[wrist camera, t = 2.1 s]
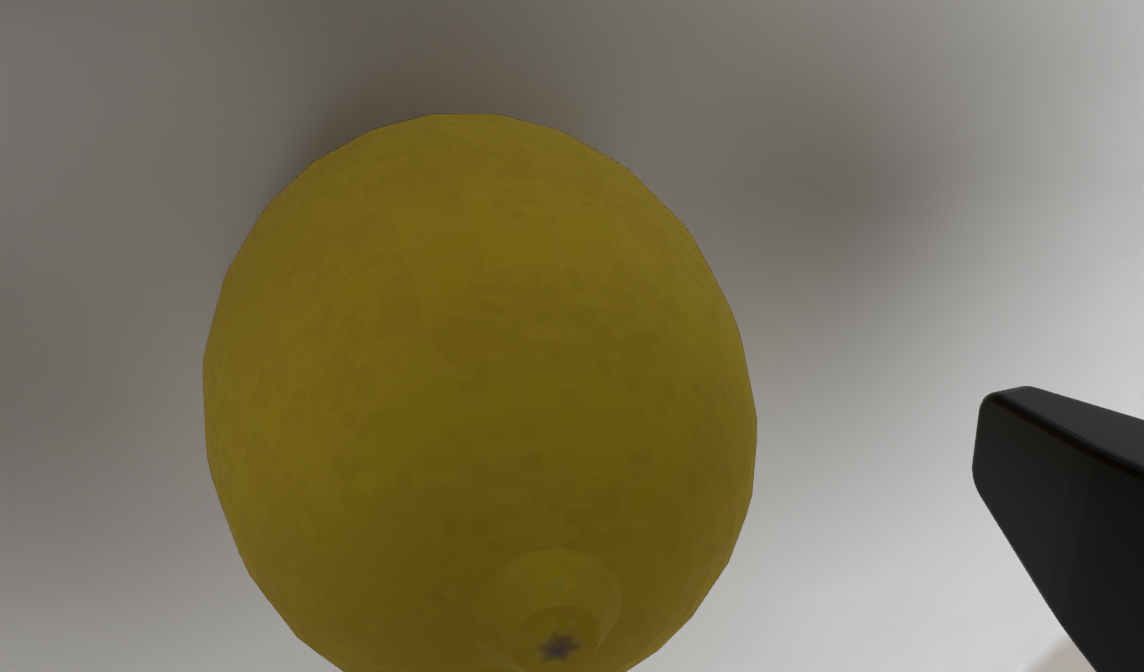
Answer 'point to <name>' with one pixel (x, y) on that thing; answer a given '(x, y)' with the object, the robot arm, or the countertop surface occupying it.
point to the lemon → (477, 405)
